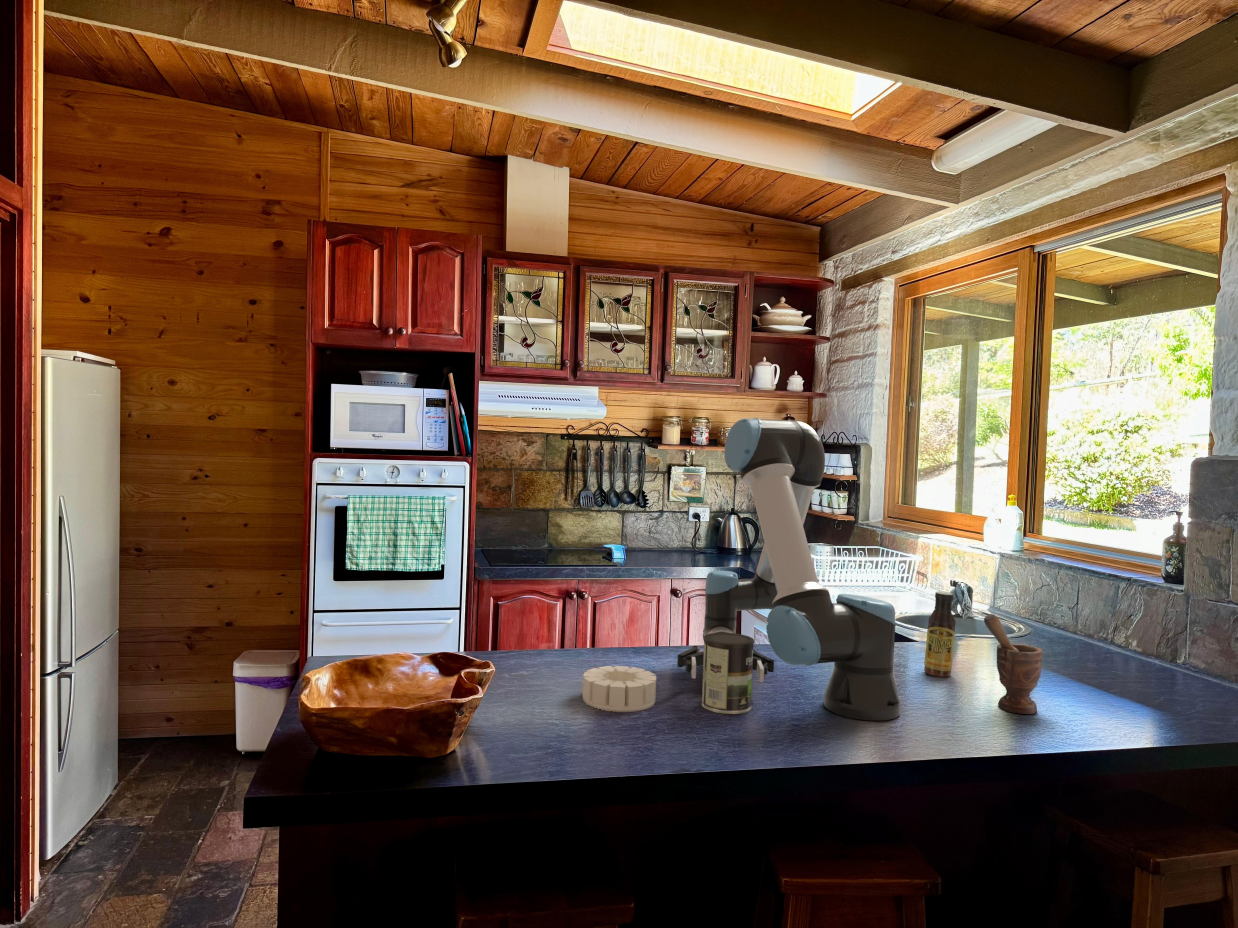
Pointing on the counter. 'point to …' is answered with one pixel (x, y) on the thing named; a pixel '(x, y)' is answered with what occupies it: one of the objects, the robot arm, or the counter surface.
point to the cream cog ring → (619, 688)
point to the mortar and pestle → (1015, 669)
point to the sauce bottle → (940, 637)
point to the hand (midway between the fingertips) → (727, 673)
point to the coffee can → (727, 673)
